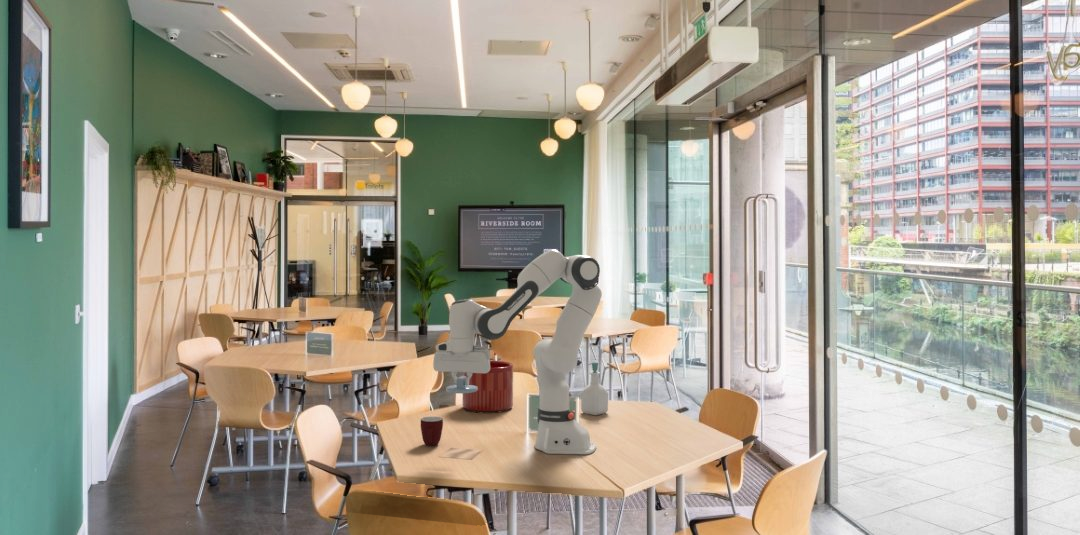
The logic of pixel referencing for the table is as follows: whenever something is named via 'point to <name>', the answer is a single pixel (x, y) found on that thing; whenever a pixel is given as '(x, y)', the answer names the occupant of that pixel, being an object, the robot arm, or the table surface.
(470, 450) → the mat
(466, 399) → the planter
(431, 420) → the mug
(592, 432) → the table surface
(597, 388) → the soap bottle
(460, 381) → the lid
